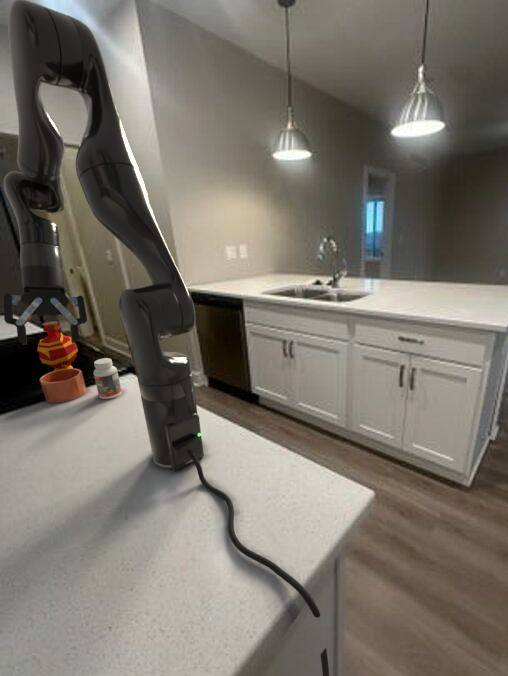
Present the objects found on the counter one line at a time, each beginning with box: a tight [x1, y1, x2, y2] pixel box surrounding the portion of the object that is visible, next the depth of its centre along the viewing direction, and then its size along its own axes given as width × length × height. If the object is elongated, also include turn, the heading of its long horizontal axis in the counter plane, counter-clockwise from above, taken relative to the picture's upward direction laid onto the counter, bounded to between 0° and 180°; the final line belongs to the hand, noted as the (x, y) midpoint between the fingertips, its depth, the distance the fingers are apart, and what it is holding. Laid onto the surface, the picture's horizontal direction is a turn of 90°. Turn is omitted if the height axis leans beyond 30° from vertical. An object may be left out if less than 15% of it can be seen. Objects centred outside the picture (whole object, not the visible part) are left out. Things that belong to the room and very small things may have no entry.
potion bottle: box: [36, 320, 79, 371], centre depth 104 cm, size 10×10×15 cm
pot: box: [39, 367, 87, 403], centre depth 91 cm, size 9×9×6 cm
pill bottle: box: [93, 357, 122, 400], centre depth 89 cm, size 5×5×10 cm
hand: (50, 343), depth 74 cm, fingers open, 8 cm apart
